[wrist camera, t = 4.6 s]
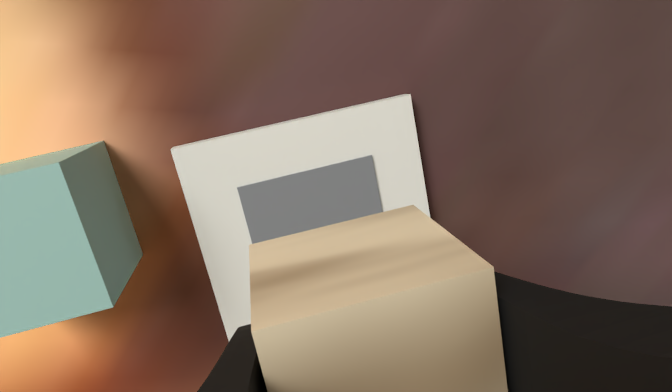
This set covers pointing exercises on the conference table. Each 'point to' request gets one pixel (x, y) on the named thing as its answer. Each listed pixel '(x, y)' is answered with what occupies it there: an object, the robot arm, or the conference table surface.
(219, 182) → the white flat square plate
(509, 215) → the conference table surface
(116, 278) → the teal cube
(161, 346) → the conference table surface
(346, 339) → the maple cube
